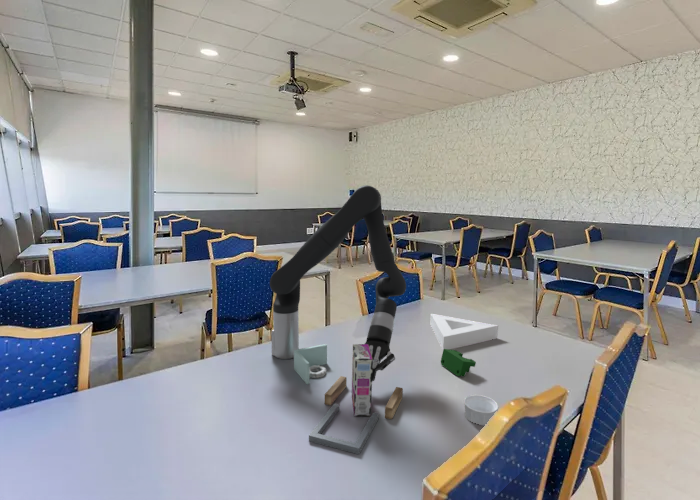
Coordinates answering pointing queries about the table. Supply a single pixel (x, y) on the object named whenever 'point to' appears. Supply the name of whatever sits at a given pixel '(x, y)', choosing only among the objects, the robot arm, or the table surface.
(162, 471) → the table surface
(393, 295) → the robot arm
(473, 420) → the ramekin
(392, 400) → the oak rails
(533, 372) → the table surface
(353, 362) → the candy bar box
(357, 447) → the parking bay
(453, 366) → the clamp
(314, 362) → the right angle wall
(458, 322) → the triangle block
